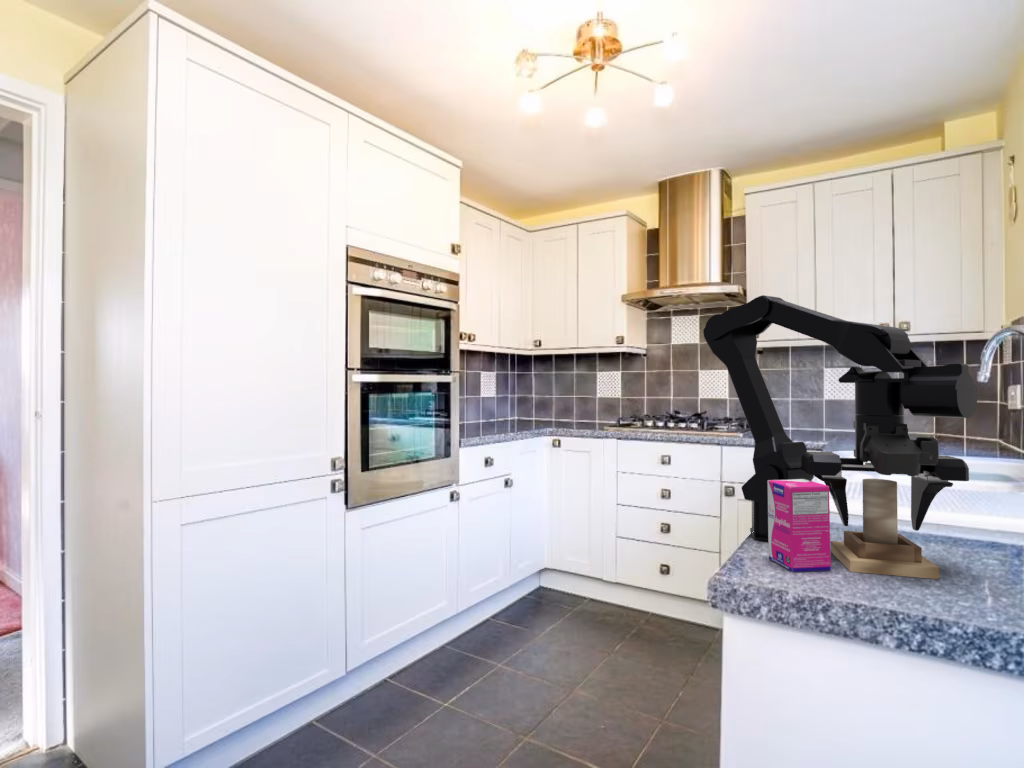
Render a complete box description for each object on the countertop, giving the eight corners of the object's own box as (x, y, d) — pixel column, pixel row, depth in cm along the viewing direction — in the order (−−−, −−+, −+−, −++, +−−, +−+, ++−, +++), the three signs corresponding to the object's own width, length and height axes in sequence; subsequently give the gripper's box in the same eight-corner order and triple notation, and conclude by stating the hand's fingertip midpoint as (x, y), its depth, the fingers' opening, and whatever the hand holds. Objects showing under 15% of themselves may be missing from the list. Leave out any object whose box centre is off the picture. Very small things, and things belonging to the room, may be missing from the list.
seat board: (850, 571, 73) (849, 545, 74) (830, 551, 83) (830, 527, 83) (939, 579, 70) (938, 551, 71) (908, 557, 80) (908, 532, 80)
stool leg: (868, 555, 75) (867, 482, 76) (859, 548, 79) (858, 478, 79) (902, 558, 74) (901, 483, 74) (891, 550, 78) (891, 479, 78)
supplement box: (766, 559, 79) (766, 479, 79) (806, 558, 79) (805, 478, 80) (790, 572, 73) (789, 485, 73) (832, 571, 74) (832, 485, 74)
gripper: (817, 416, 72) (818, 536, 72) (990, 419, 67) (992, 549, 66) (800, 413, 83) (800, 518, 83) (948, 415, 77) (949, 527, 77)
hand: (880, 527), depth 77 cm, fingers open, 8 cm apart
